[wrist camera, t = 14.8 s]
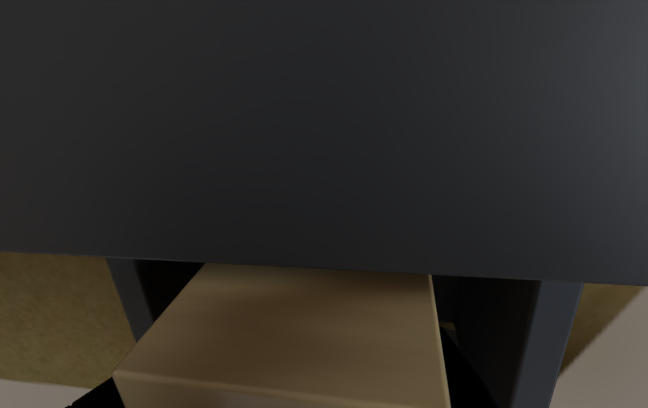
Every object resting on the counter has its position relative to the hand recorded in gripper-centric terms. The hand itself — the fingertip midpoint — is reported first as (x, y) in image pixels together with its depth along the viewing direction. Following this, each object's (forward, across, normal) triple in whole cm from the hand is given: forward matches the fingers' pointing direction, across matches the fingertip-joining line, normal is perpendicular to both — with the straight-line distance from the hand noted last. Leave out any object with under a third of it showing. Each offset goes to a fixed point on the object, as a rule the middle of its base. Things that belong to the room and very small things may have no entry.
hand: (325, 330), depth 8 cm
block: (+1, 0, 0) cm, 1 cm away
